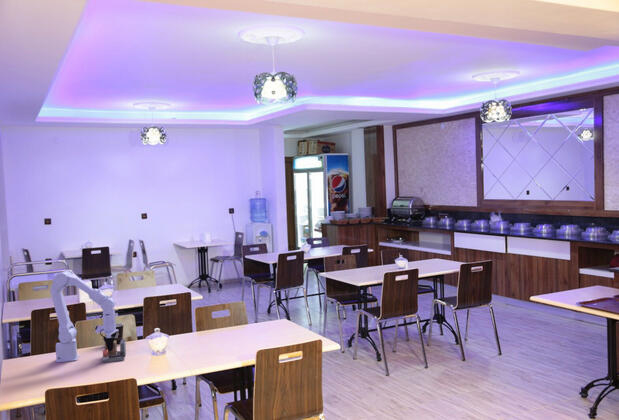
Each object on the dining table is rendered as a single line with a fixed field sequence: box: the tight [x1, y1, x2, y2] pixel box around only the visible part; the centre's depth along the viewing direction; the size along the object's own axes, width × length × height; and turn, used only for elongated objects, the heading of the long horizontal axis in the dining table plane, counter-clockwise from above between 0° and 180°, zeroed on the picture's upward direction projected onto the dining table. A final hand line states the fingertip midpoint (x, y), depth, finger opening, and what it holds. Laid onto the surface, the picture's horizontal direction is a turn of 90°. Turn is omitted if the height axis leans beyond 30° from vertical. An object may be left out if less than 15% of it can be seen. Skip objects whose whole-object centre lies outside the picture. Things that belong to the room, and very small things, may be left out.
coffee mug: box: [99, 322, 124, 346], centre depth 311 cm, size 12×9×10 cm
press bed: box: [101, 338, 127, 364], centre depth 283 cm, size 10×14×7 cm
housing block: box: [104, 340, 118, 355], centre depth 286 cm, size 5×5×6 cm
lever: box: [101, 349, 109, 360], centre depth 277 cm, size 3×3×4 cm
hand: (110, 348), depth 286 cm, fingers open, 7 cm apart
